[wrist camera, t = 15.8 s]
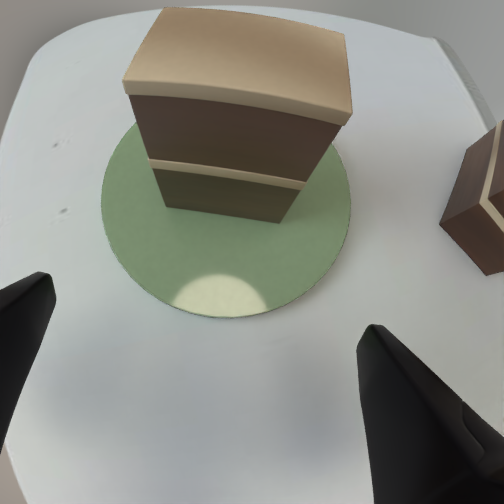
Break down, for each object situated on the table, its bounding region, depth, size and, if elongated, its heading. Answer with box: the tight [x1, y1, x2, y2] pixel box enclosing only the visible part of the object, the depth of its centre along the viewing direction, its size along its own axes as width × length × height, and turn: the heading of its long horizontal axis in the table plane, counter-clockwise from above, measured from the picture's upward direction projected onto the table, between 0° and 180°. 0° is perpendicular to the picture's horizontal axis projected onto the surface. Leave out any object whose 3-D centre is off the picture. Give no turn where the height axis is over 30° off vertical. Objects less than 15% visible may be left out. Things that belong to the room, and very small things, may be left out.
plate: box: [101, 122, 351, 318], centre depth 18 cm, size 15×15×1 cm
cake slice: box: [122, 7, 353, 224], centre depth 13 cm, size 4×6×10 cm, turn 83°
